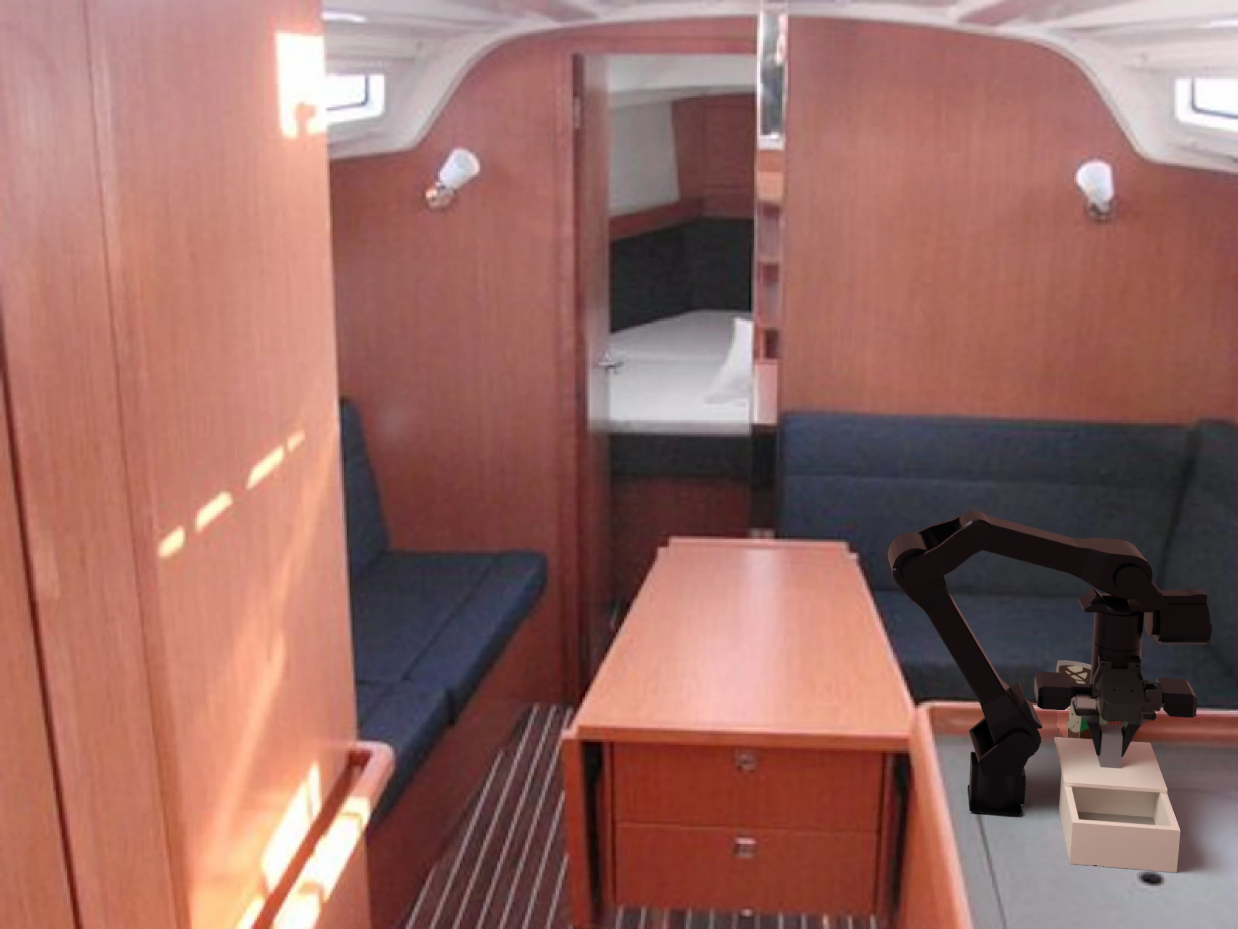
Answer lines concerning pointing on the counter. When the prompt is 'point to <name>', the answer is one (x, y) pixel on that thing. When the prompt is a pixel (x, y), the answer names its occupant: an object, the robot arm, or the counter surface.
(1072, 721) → the food container
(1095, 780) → the lid
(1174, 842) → the carton
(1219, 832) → the counter surface
